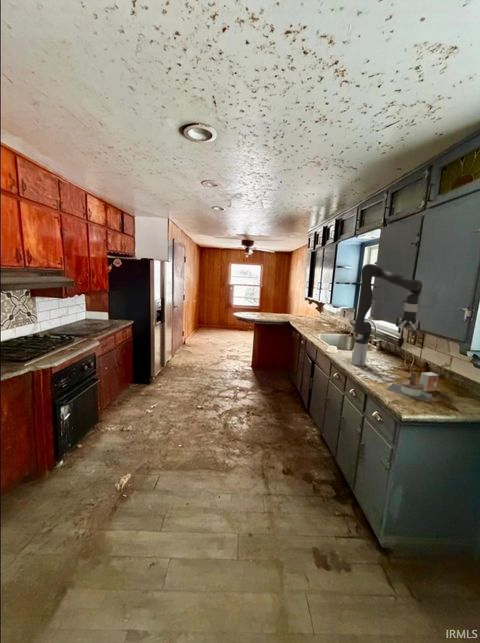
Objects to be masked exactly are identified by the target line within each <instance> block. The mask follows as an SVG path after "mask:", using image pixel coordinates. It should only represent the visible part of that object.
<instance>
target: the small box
mask: <svg viewBox="0 0 480 643" xmlns="http://www.w3.org/2000/svg"><path fill="white" fill-rule="evenodd" d="M439 376H440V375H439V374H438V373H435V372H433V371H429V372H421V373H420V379H419V383H421V384H423V385H424V389H422V391H423V392H435V391H437V386H438V382H439V378H440V377H439Z"/></svg>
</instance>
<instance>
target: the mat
mask: <svg viewBox="0 0 480 643" xmlns="http://www.w3.org/2000/svg"><path fill="white" fill-rule="evenodd" d="M401 387H402V385H401V384H395V383H391V384H390V386H388V387H387V389H386V391H389V392H393V393H396V394H399V395H403V396H405V397H409V398H413V399H417V400H420V401H422V402H427V403H429V402H430V400H431V398H432V397H433V394H432V393H429V392H426V391H422V392H421V395H420V396H418V397H414V396H409V395H406V394H404V393H403V392H402V391H401Z"/></svg>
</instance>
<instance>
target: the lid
mask: <svg viewBox="0 0 480 643" xmlns="http://www.w3.org/2000/svg"><path fill="white" fill-rule="evenodd" d="M417 374H418V372H415V371H411V372H410V379H402V380H400V386H402V385H403V386H404V387H407V388H410V389H415V390H422V389H424V385H423V384H421V383H420V381H419V382H418V381H416V380H417ZM422 391H423V390H422Z"/></svg>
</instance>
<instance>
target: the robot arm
mask: <svg viewBox="0 0 480 643" xmlns="http://www.w3.org/2000/svg"><path fill="white" fill-rule="evenodd" d="M373 278H378V279H382V280H384V281H387V282H388V283H390V284H393V285H395V286H399V287H401V288H403V289H406V290H408V291H409V293H408V294H407V295H406V297H405V302H404V303H405V304H404V308H403V314H402V318H400V317H397V318H396V322H395V327H397V333H398V334H401V333H402V327H403V326H408V327H412V328H413V333H412V336H413V337H415V336H416V335H417V332H418V331H420V330H421V328H420V323H421V324H422V320H417V313H418V306H419V305H418V304H419V299H420V298H419V297H420V295H421V293H422V289H423V283H422V281H421V280H419V279H411V278H409V277H407V276H405V275H403V274H399V273H395V272H392V271H388V270H387V269H384V268H382V267H380V266H378V265H377V264H373V263H367V264H364V265H363V267H362V268H361V280H360V282H361V284H360V289H359V297H358V305H357V310H356V317H355V320H354V327H353V328H354V332H355V333H356V334H357V335H358V336H356V337H355V338H354V346H353V351H352V355H351V361H350V364H352V365H354V366H359V367H365V366H366V360H367V355H368V354H367V352H368V348H369V347H368V346H369V341H370V339H371V334H372V324H371V323H370V322H369V321H365V318H366V316H367V314H368V312H369V311H370V309H371V307H372V305H373V300H374V293H373V289H372V288H373V287H372V280H373ZM401 321H402V323H400V322H401ZM416 324H417V327H416Z"/></svg>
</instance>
